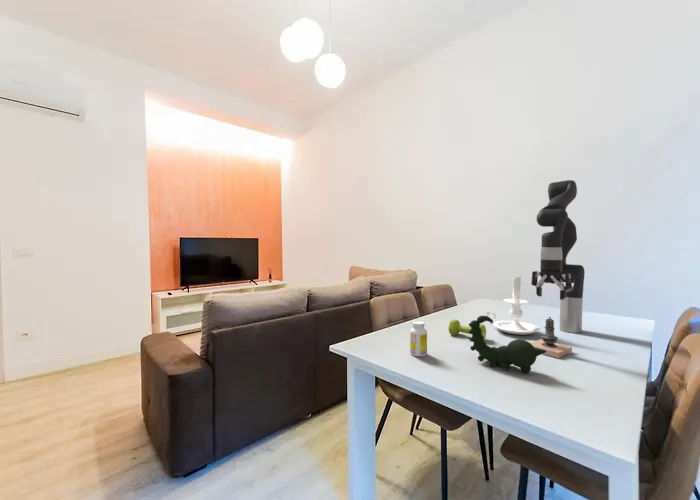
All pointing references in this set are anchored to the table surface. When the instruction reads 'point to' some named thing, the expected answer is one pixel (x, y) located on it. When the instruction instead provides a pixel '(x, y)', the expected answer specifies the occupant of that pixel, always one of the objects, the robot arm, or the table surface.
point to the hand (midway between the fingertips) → (550, 297)
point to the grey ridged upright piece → (549, 334)
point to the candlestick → (515, 314)
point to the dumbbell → (463, 328)
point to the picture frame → (553, 349)
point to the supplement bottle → (418, 339)
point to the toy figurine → (503, 349)
